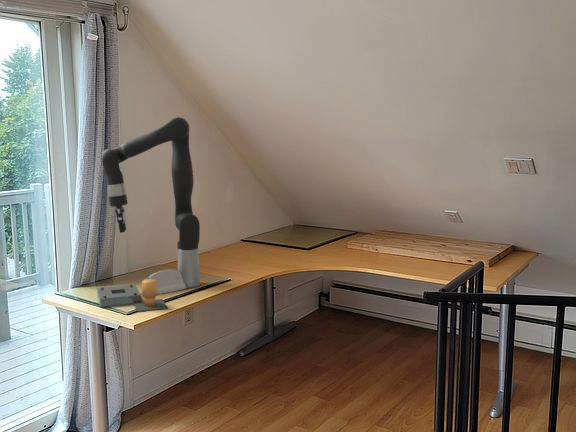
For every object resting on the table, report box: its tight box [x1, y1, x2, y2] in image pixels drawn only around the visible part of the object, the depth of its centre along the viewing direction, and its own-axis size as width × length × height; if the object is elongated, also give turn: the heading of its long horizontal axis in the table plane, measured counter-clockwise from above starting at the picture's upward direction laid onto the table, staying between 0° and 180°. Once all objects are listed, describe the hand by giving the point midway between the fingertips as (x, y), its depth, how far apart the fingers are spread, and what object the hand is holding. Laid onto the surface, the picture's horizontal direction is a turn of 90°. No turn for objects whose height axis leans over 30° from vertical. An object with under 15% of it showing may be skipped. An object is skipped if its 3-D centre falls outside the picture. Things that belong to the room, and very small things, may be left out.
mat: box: [133, 298, 169, 313], centre depth 247 cm, size 12×12×1 cm
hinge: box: [146, 269, 187, 295], centre depth 267 cm, size 17×5×10 cm, turn 128°
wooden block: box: [141, 278, 159, 306], centre depth 246 cm, size 6×6×10 cm
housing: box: [96, 284, 142, 308], centre depth 254 cm, size 16×16×4 cm
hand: (123, 231), depth 266 cm, fingers open, 8 cm apart
